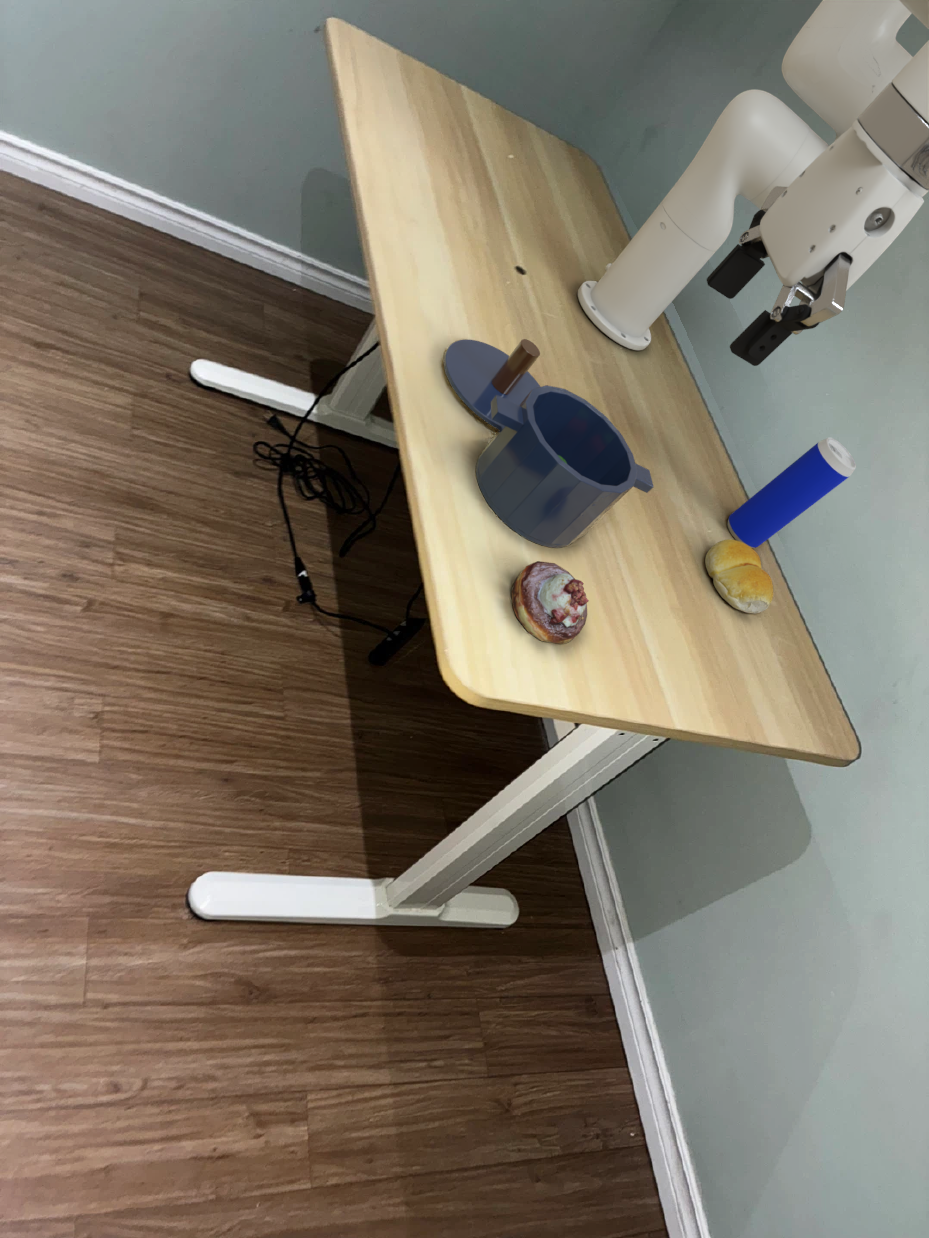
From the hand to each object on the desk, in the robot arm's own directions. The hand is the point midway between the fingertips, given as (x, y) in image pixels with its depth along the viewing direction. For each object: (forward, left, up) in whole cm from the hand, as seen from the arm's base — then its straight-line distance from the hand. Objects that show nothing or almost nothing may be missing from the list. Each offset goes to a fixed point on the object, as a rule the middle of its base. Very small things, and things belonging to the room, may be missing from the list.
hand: (729, 322), depth 71 cm
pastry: (+19, -6, -22) cm, 30 cm away
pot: (+5, -6, -22) cm, 24 cm away
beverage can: (-5, +27, -22) cm, 35 cm away
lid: (-9, -9, -22) cm, 25 cm away
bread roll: (+5, +22, -22) cm, 32 cm away
